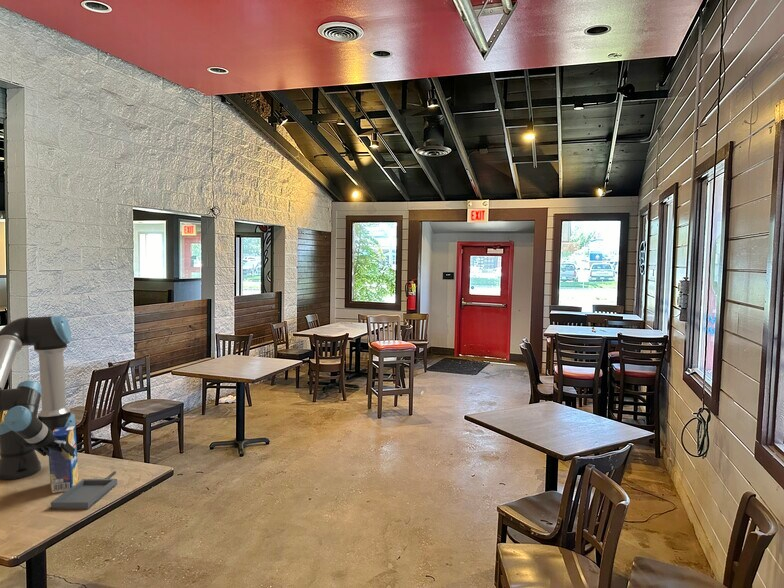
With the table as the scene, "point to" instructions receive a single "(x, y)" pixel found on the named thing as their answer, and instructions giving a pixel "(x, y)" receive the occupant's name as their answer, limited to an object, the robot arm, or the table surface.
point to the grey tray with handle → (84, 493)
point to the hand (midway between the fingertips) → (68, 460)
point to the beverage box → (63, 462)
